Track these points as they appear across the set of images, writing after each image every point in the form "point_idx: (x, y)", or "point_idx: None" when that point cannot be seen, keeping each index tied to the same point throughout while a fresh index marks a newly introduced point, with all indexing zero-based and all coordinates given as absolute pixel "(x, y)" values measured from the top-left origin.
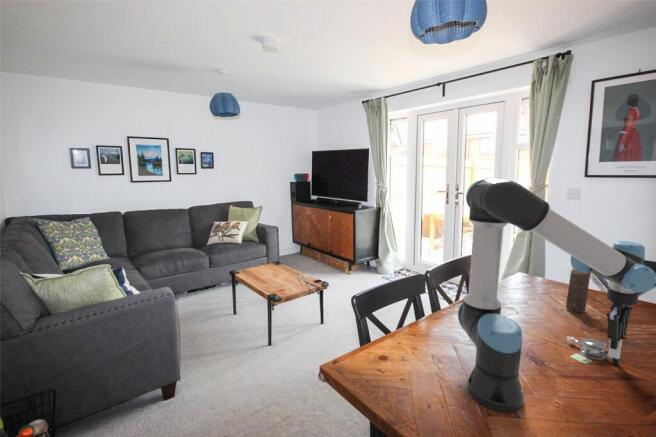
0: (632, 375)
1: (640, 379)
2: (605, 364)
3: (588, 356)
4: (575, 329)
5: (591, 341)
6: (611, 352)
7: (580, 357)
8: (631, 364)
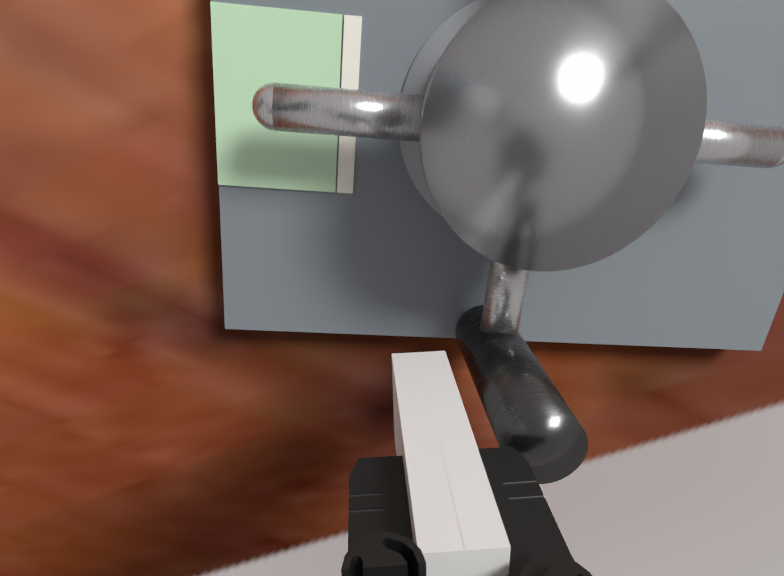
0: (467, 415)
1: None
2: None
3: None
4: None
5: (602, 89)
6: (396, 411)
7: None
8: (646, 349)
